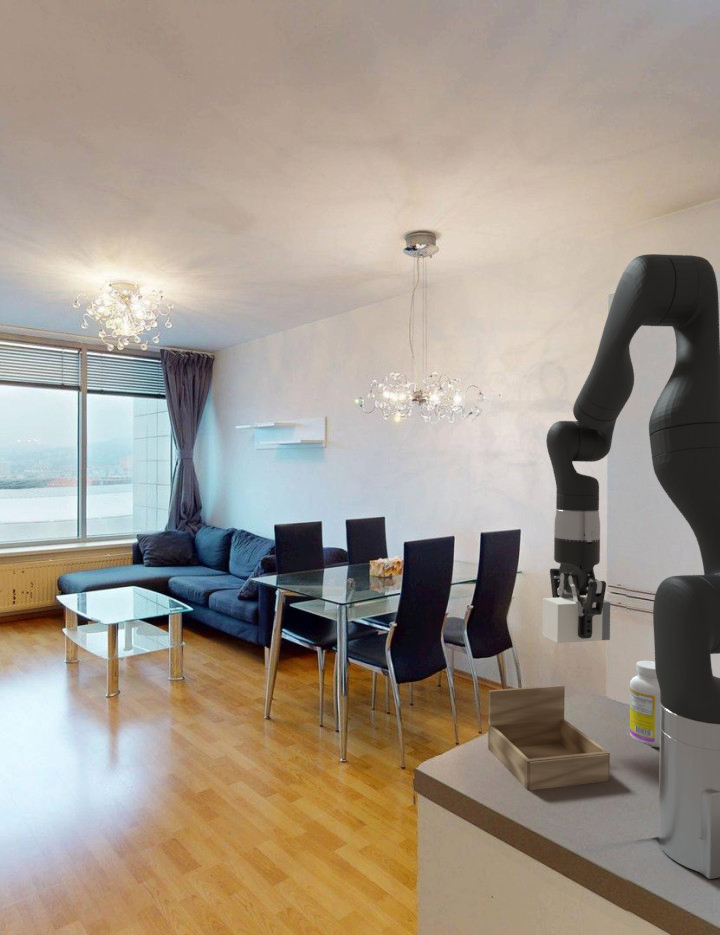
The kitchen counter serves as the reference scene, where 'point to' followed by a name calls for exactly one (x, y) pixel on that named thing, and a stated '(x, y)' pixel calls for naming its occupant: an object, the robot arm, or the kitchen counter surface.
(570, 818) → the kitchen counter surface
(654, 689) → the supplement bottle
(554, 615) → the capped box
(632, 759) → the kitchen counter surface
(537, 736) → the wooden box
